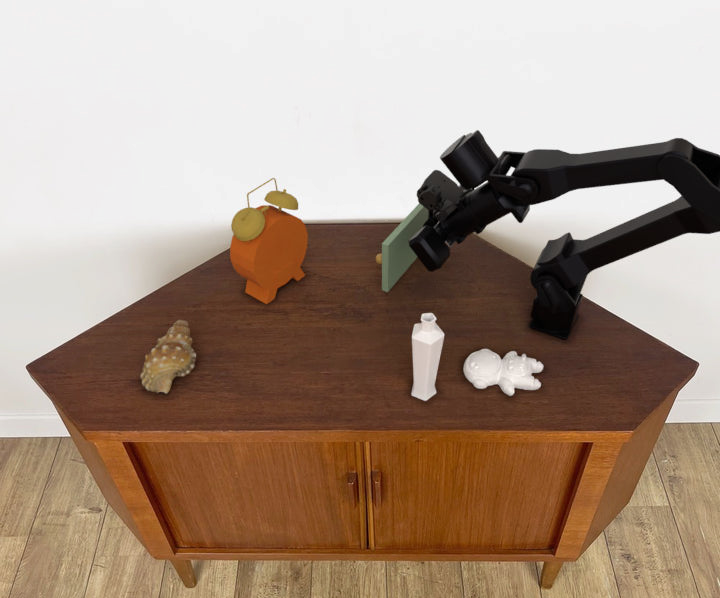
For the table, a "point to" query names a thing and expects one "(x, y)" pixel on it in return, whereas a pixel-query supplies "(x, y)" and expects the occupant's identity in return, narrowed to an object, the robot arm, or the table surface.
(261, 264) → the alarm clock
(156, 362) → the seashell
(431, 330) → the perfume bottle
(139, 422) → the table surface
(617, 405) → the table surface
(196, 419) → the table surface
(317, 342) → the table surface
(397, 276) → the green flat slab
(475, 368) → the astronaut figurine
